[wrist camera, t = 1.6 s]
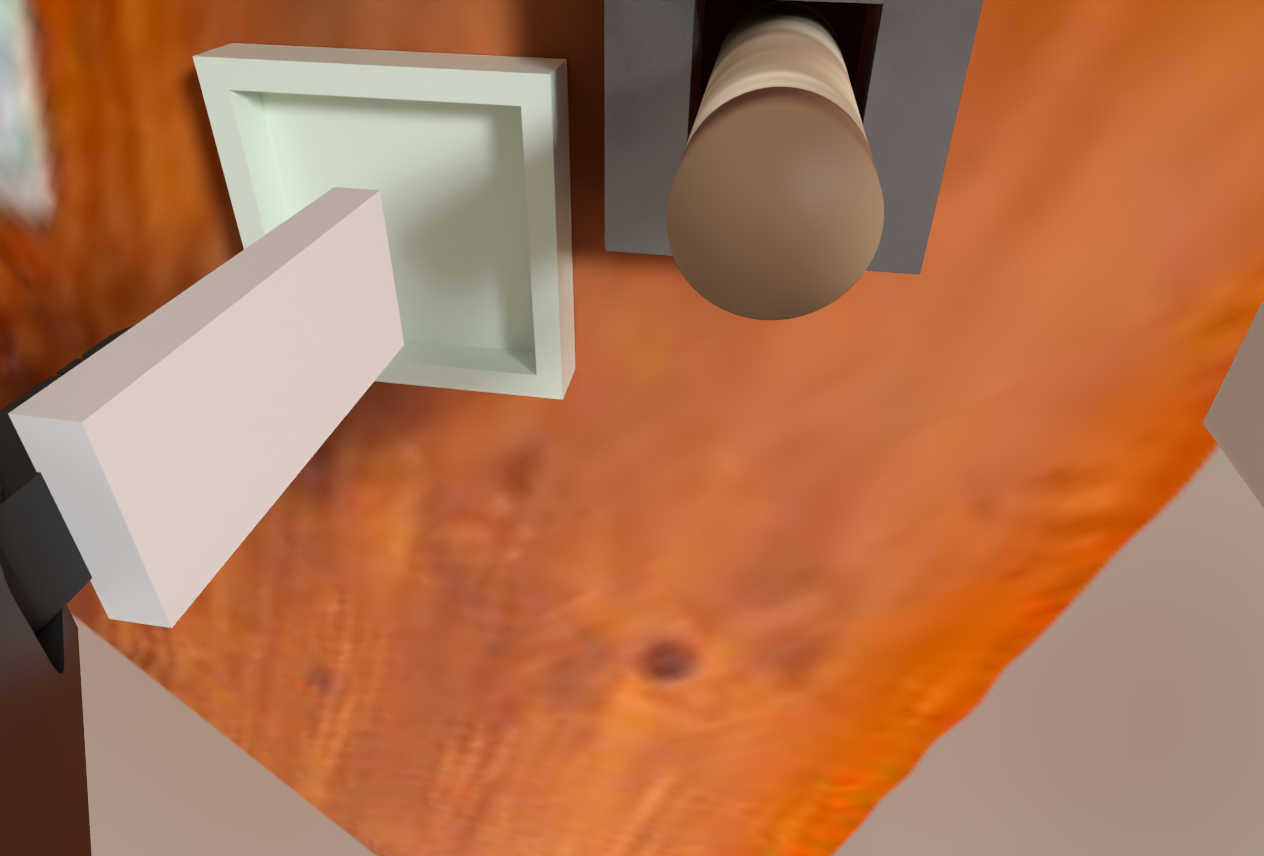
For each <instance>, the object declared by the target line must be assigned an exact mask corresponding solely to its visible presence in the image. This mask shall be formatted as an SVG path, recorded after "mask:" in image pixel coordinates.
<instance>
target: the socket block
mask: <svg viewBox="0 0 1264 856" xmlns="http://www.w3.org/2000/svg"><path fill="white" fill-rule="evenodd" d="M794 1H820V2H846V3H868V5H867V11H866V18H865V24H864V30H863V36H862V43H861V49H860V55H859V61H858V68H857V74H856V80H855V87H854V97H855V100H856V104H857V107H858V111H859V114H860V117H861V121H862V124H863V128H864V131H865V134H866V138H867V141H868V145H869V148H870V152H871V155H872V158H873V162H874V165H875V169H876V172H877V176H878V179H879V182H880V186H881V189H882V195H883V202H884V222H883V230H882V234H881V238H880V242H879V245H878V248H877V250H876V252H875V255H874V257H873V259H872V261H871V263H870V264H869V266H868V268H867V269H866V271H879V272H893V273H906V274H919V275H920V272H921V268H922V263H923V259H924V255H925V250H926V246H927V242H928V237H929V233H930V229H931V224H932V220H933V216H934V211H935V207H936V203H937V198H938V194H939V190H940V185H941V181H942V177H943V172H944V168H945V164H946V159H947V155H948V151H949V146H950V142H951V138H952V133H953V129H954V125H955V120H956V116H957V112H958V107H959V103H960V98H961V94H962V90H963V85H964V81H965V77H966V72H967V68H968V64H969V59H970V55H971V51H972V46H973V42H974V38H975V33H976V29H977V25H978V20H979V16H980V12H981V7H982V3H983V0H794ZM704 11H705V0H604V95H605V251H614V252H627V253H641V254H654V255H667V256H673V255H672V252H671V248H670V245H669V241H668V235H667V226H666V214H667V205H668V200H669V196H670V192H671V188H672V185H673V182H674V179H675V177H676V174H677V171H678V168H679V165H680V162H681V159H682V156H683V154H684V151H685V148H686V145H687V142H688V139H689V136H690V133H691V131H692V128H693V125H694V122H695V119H696V116H697V113H698V111H699V95H700V79H701V62H702V45H703V28H704Z"/></svg>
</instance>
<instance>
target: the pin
mask: <svg viewBox="0 0 1264 856" xmlns="http://www.w3.org/2000/svg"><path fill="white" fill-rule="evenodd" d="M883 222H884V202H883V195H882V189H881V186H880V182H879V179H878V176H877V172H876V169H875V165H874V162H873V158H872V155H871V152H870V148H869V145H868V141H867V138H866V134H865V131H864V128H863V124H862V121H861V117H860V114H859V111H858V107H857V104H856V100H855V97H854V93H853V90H852V87H851V83H850V80H849V76H848V73H847V69H846V66H845V63H844V59H843V56H842V52H841V49H840V46H839V42H838V39H837V37H836V34H835V32H834V30H833V29H832V27H831V26H830V24H829V23H828V21H827V20H826V19H825V18H824V17H823V16H822V15H821V14H820V13H818V12H817V11H816V10H814V9H812V8H811V7H809V6H807V5H804V4H802V3H798V2H794V1H786V0H785V1H773V2H768V3H765V4H762V5H759V6H757V7H755V8H753V9H751V10H750V11H748V12H747V13H745V14H744V15H743V16H742V17H740V18H739V19H738V20H737V21H736V22H735V24H734V25H733V26H732V27H731V29H730V30H729V31H728V33H727V35H726V36H725V38H724V40H723V42H722V45H721V48H720V50H719V53H718V56H717V59H716V62H715V65H714V67H713V70H712V73H711V76H710V79H709V82H708V85H707V88H706V90H705V93H704V96H703V99H702V102H701V105H700V108H699V111H698V113H697V116H696V119H695V122H694V125H693V128H692V131H691V133H690V136H689V139H688V142H687V145H686V148H685V151H684V154H683V156H682V159H681V162H680V165H679V168H678V171H677V174H676V177H675V179H674V182H673V185H672V188H671V192H670V196H669V200H668V205H667V214H666V226H667V235H668V241H669V245H670V248H671V252H672V255H673V257H674V259H675V262H676V264H677V266H678V268H679V269H680V271H681V273H682V274H683V276H684V277H685V279H686V280H687V281H688V282H689V283H690V285H691V286H692V287H693V288H694V289H695V290H696V291H697V292H698V293H699V294H700V295H701V296H703V297H704V298H705V299H707V300H708V301H710V302H711V303H712V304H714V305H716V306H718V307H720V308H721V309H723V310H725V311H728V312H730V313H733V314H735V315H739V316H743V317H747V318H752V319H759V320H782V319H790V318H795V317H800V316H803V315H806V314H809V313H812V312H815V311H817V310H819V309H821V308H823V307H825V306H827V305H829V304H830V303H832V302H834V301H835V300H837V299H838V298H840V297H841V296H842V295H843V294H845V293H846V292H847V291H848V290H849V289H850V288H851V287H852V286H853V285H854V284H855V283H856V282H857V281H858V280H859V279H860V277H861V276H862V275H863V273H864V272H865V271H866V269H867V268H868V266H869V264H870V263H871V261H872V259H873V257H874V255H875V252H876V250H877V248H878V245H879V242H880V238H881V234H882V230H883Z"/></svg>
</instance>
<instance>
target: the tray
mask: <svg viewBox="0 0 1264 856" xmlns="http://www.w3.org/2000/svg"><path fill="white" fill-rule="evenodd" d="M193 60H194V63H195V67H196V71H197V75H198V78H199V82H200V86H201V90H202V93H203V97H204V101H205V105H206V109H207V112H208V116H209V120H210V124H211V127H212V131H213V135H214V139H215V142H216V146H217V150H218V154H219V157H220V161H221V165H222V169H223V173H224V176H225V180H226V184H227V188H228V191H229V195H230V199H231V203H232V206H233V210H234V214H235V218H236V221H237V225H238V229H239V233H240V236H241V240H242V244H243V248H244V249H246V248H247V247H249V246H250V245H251V244H253V243H254V242H256V241H257V240H259V239H260V238H261V237H263V236H264V235H266V234H267V233H269V232H270V231H272V230H273V229H274V228H276V227H277V226H279V225H280V224H282V223H283V222H285V221H286V220H287V219H289V218H290V217H292V216H293V215H295V214H296V213H297V212H299V211H300V210H302V209H303V208H305V207H306V206H308V205H309V204H310V203H312V202H313V201H315V200H316V199H318V198H319V197H321V196H322V195H323V194H325V193H326V192H328V191H329V190H331V189H332V188H333V187H340V188H354V189H368V190H380V194H381V201H382V207H383V213H384V220H385V226H386V232H387V239H388V245H389V251H390V257H391V264H392V270H393V276H394V283H395V289H396V295H397V302H398V308H399V314H400V321H401V327H402V333H403V339H404V346H403V347H402V348H401V349H400V350H399V352H398V353H397V354H396V355H395V357H394V358H393V359H392V360H391V361H390V363H389V364H388V365H387V366H386V368H385V369H384V370H383V371H382V372H381V374H380V375H379V376H378V377H377V379H376V380H375V381H377V382H388V383H398V384H408V385H419V386H429V387H439V388H449V389H460V390H470V391H480V392H491V393H501V394H511V395H522V396H532V397H542V398H552V399H563V397H564V395H565V393H566V390H567V388H568V385H569V383H570V381H571V378H572V376H573V373H574V371H575V339H574V301H573V264H572V227H571V190H570V152H569V115H568V78H567V59H553V58H533V57H512V56H491V55H470V54H450V53H429V52H408V51H388V50H367V49H346V48H326V47H305V46H284V45H263V44H243V43H231V44H228V45H225V46H222V47H219V48H216V49H213V50H210V51H207V52H204V53H201V54H198V55H195V56H193Z"/></svg>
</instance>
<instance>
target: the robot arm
mask: <svg viewBox="0 0 1264 856" xmlns="http://www.w3.org/2000/svg"><path fill="white" fill-rule="evenodd" d="M403 346H404V339H403V333H402V327H401V321H400V314H399V308H398V302H397V295H396V289H395V283H394V276H393V270H392V264H391V257H390V251H389V245H388V239H387V232H386V226H385V220H384V213H383V207H382V201H381V194H380V190H368V189H354V188H340V187H333V188H332V189H331V190H329V191H328V192H326V193H325V194H323V195H322V196H321V197H319V198H318V199H316V200H315V201H313V202H312V203H310V204H309V205H308V206H306V207H305V208H303V209H302V210H300V211H299V212H297V213H296V214H295V215H293V216H292V217H290V218H289V219H287V220H286V221H285V222H283V223H282V224H280V225H279V226H277V227H276V228H274V229H273V230H272V231H270V232H269V233H267V234H266V235H264V236H263V237H261V238H260V239H259V240H257V241H256V242H254V243H253V244H251V245H250V246H249V247H247V248H246V249H244V250H243V251H241V252H240V253H238V254H237V255H236V256H234V257H233V258H231V259H230V260H228V261H227V262H225V263H224V264H223V265H221V266H220V267H218V268H217V269H215V270H214V271H213V272H211V273H210V274H208V275H207V276H205V277H204V278H202V279H201V280H200V281H198V282H197V283H195V284H194V285H192V286H191V287H189V288H188V289H187V290H185V291H184V292H182V293H181V294H179V295H178V296H177V297H175V298H174V299H172V300H171V301H169V302H168V303H166V304H165V305H164V306H162V307H161V308H159V309H158V310H156V311H155V312H154V313H152V314H151V315H149V316H148V317H146V318H145V319H143V320H142V321H141V322H139V323H138V324H136V325H133V326H131V327H128V328H126V329H123V330H121V331H119V332H116V333H114V334H112V335H110V336H109V337H107V338H106V339H105V340H103V341H102V342H100V343H99V344H97V345H96V346H94V347H93V348H91V349H90V350H88V351H87V352H86V353H84V354H83V355H82V356H83V357H82V359H75V360H74V361H72V362H71V363H69V364H68V365H67V366H65V367H64V368H62V369H61V370H59V371H58V372H57V377H51V376H50V377H49V378H48V379H46V380H45V381H43V382H42V383H40V384H39V385H37V386H36V387H34V388H33V389H31V390H30V391H29V392H27V393H26V394H24V395H23V396H21V397H20V398H18V399H17V400H15V401H14V402H13V403H11V404H10V405H8V406H7V407H5V408H4V409H2V410H1V411H0V856H91V843H90V826H89V809H88V793H87V775H86V759H85V742H84V726H83V709H82V694H81V693H82V692H81V675H80V659H79V642H78V628H77V625H76V623H75V622H74V619H73V617H72V615H71V613H70V611H69V609H68V607H67V605H66V604H67V603H68V602H69V601H70V600H71V599H72V598H73V597H74V596H75V595H76V594H77V593H78V592H79V591H80V590H81V589H82V588H83V587H84V586H85V585H86V584H87V583H88V582H89V581H91V583H92V585H93V587H94V589H95V591H96V593H97V595H98V597H99V599H100V601H101V603H102V605H103V607H104V609H105V611H106V613H107V615H108V617H109V619H115V620H121V621H128V622H135V623H142V624H148V625H155V626H162V627H168V628H172V627H173V626H174V625H175V623H176V622H177V621H178V620H179V618H180V617H181V616H182V615H183V614H184V612H185V611H186V610H187V609H188V608H189V606H190V605H191V604H192V603H193V601H194V600H195V599H196V598H197V597H198V595H199V594H200V593H201V592H202V590H203V589H204V588H205V587H206V586H207V584H208V583H209V582H210V581H211V580H212V578H213V577H214V576H215V575H216V573H217V572H218V571H219V570H220V569H221V567H222V566H223V565H224V564H225V562H226V561H227V560H228V559H229V558H230V556H231V555H232V554H233V553H234V551H235V550H236V549H237V548H238V547H239V545H240V544H241V543H242V542H243V541H244V539H245V538H246V537H247V536H248V534H249V533H250V532H251V531H252V530H253V528H254V527H255V526H256V525H257V523H258V522H259V521H260V520H261V519H262V517H263V516H264V515H265V514H266V513H267V511H268V510H269V509H270V508H271V506H272V505H273V504H274V503H275V502H276V500H277V499H278V498H279V497H280V495H281V494H282V493H283V492H284V491H285V489H286V488H287V487H288V486H289V484H290V483H291V482H292V481H293V480H294V478H295V477H296V476H297V475H298V474H299V472H300V471H301V470H302V469H303V467H304V466H305V465H306V464H307V463H308V461H309V460H310V459H311V458H312V456H313V455H314V454H315V453H316V452H317V450H318V449H319V448H320V447H321V446H322V444H323V443H324V442H325V441H326V439H327V438H328V437H329V436H330V435H331V433H332V432H333V431H334V430H335V428H336V427H337V426H338V425H339V424H340V422H341V421H342V420H343V419H344V417H345V416H346V415H347V414H348V413H349V411H350V410H351V409H352V408H353V407H354V405H355V404H356V403H357V402H358V400H359V399H360V398H361V397H362V396H363V394H364V393H365V392H366V391H367V389H368V388H369V387H370V386H371V385H372V383H373V382H374V381H375V380H376V379H377V377H378V376H379V375H380V374H381V372H382V371H383V370H384V369H385V368H386V366H387V365H388V364H389V363H390V361H391V360H392V359H393V358H394V357H395V355H396V354H397V353H398V352H399V350H400V349H401V348H402V347H403ZM1203 424H1204V425H1205V427H1206V428H1207V430H1208V431H1209V432H1210V434H1211V435H1212V437H1213V438H1214V439H1215V441H1216V442H1217V443H1218V445H1219V446H1220V448H1221V449H1222V450H1223V452H1224V453H1225V454H1226V456H1227V457H1228V459H1229V460H1230V461H1231V463H1232V464H1233V466H1234V467H1235V468H1236V469H1237V471H1238V472H1239V474H1240V475H1241V476H1242V478H1243V479H1244V481H1245V482H1246V483H1247V485H1248V486H1249V488H1250V489H1251V490H1252V492H1253V493H1254V494H1255V496H1256V497H1257V498H1258V500H1259V501H1260V503H1261V504H1262V506H1263V507H1264V300H1263V302H1262V304H1261V306H1260V308H1259V310H1258V312H1257V314H1256V316H1255V318H1254V320H1253V322H1252V324H1251V326H1250V328H1249V330H1248V332H1247V334H1246V336H1245V338H1244V340H1243V342H1242V344H1241V346H1240V348H1239V350H1238V352H1237V354H1236V356H1235V359H1234V361H1233V363H1232V365H1231V367H1230V369H1229V371H1228V373H1227V375H1226V377H1225V379H1224V381H1223V383H1222V385H1221V387H1220V389H1219V391H1218V393H1217V395H1216V397H1215V399H1214V401H1213V403H1212V405H1211V407H1210V409H1209V411H1208V413H1207V415H1206V417H1205V419H1204V421H1203Z"/></svg>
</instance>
